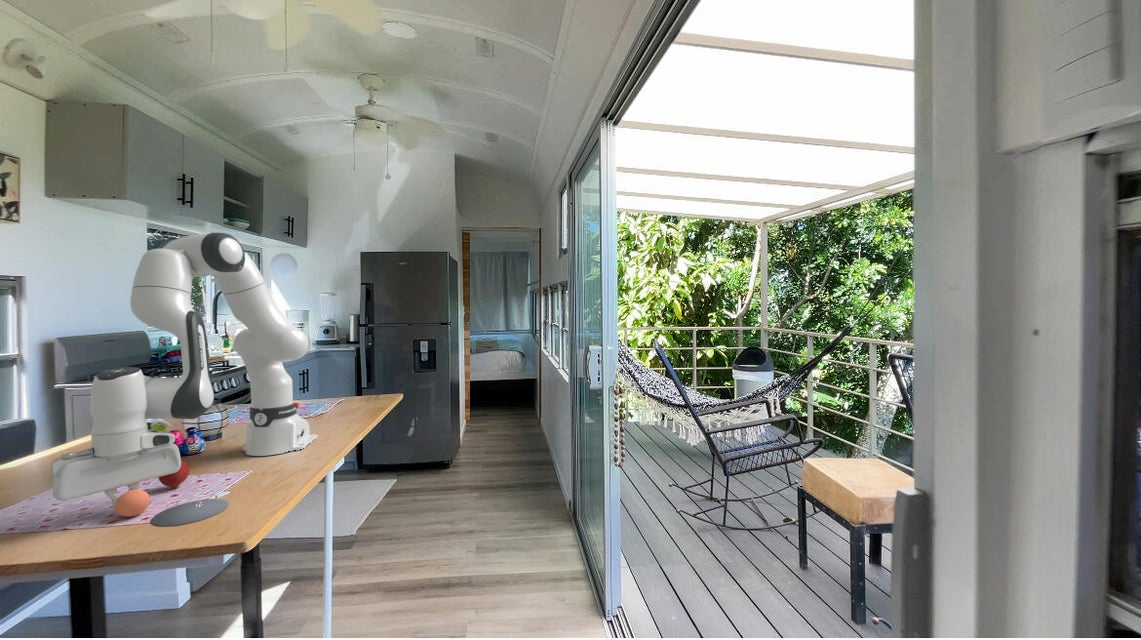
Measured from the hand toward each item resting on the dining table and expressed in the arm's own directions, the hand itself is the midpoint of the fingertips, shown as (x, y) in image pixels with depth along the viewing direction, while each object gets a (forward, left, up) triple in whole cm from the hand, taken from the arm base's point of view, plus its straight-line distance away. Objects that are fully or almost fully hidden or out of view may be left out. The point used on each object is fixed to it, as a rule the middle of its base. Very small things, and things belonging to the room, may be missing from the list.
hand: (122, 505), depth 101 cm
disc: (0, +15, -2) cm, 15 cm away
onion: (-14, -1, -2) cm, 14 cm away
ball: (+2, +4, +1) cm, 4 cm away
